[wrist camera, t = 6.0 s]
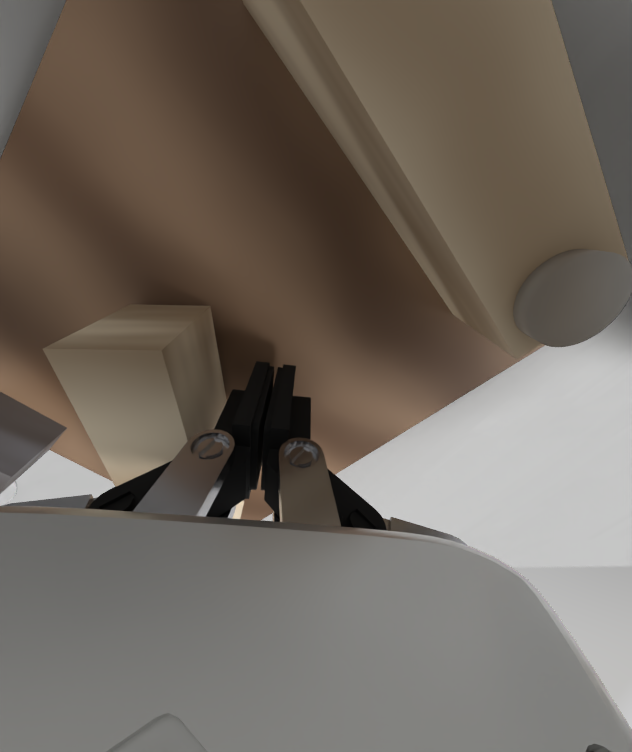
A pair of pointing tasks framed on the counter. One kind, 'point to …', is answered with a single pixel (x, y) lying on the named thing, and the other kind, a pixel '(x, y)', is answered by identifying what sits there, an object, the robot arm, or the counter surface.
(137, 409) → the hinged leg
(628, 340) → the counter surface
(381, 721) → the robot arm
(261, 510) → the stool frame
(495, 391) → the counter surface
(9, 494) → the beer glass
